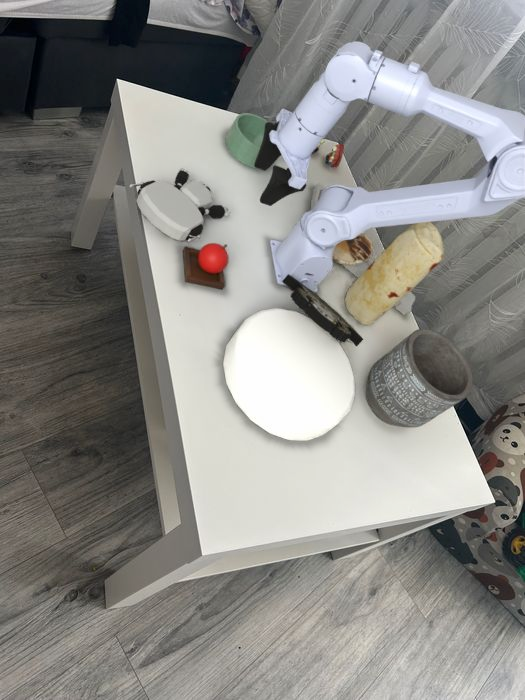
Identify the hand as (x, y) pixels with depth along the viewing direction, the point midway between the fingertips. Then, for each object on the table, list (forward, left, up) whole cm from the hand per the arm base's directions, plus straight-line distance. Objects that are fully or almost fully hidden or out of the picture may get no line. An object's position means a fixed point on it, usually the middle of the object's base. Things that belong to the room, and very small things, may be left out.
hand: (262, 184), depth 95 cm
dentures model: (+28, -18, -7) cm, 34 cm away
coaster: (-12, +7, -9) cm, 17 cm away
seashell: (-4, -18, -3) cm, 18 cm away
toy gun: (+8, -31, -9) cm, 33 cm away
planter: (-31, -23, -9) cm, 40 cm away
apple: (-12, +7, -9) cm, 17 cm away
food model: (-13, -22, -10) cm, 27 cm away
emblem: (-15, -14, -9) cm, 22 cm away
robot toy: (-2, +11, -10) cm, 15 cm away
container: (-30, -4, -9) cm, 32 cm away
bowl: (+21, -5, -9) cm, 23 cm away
